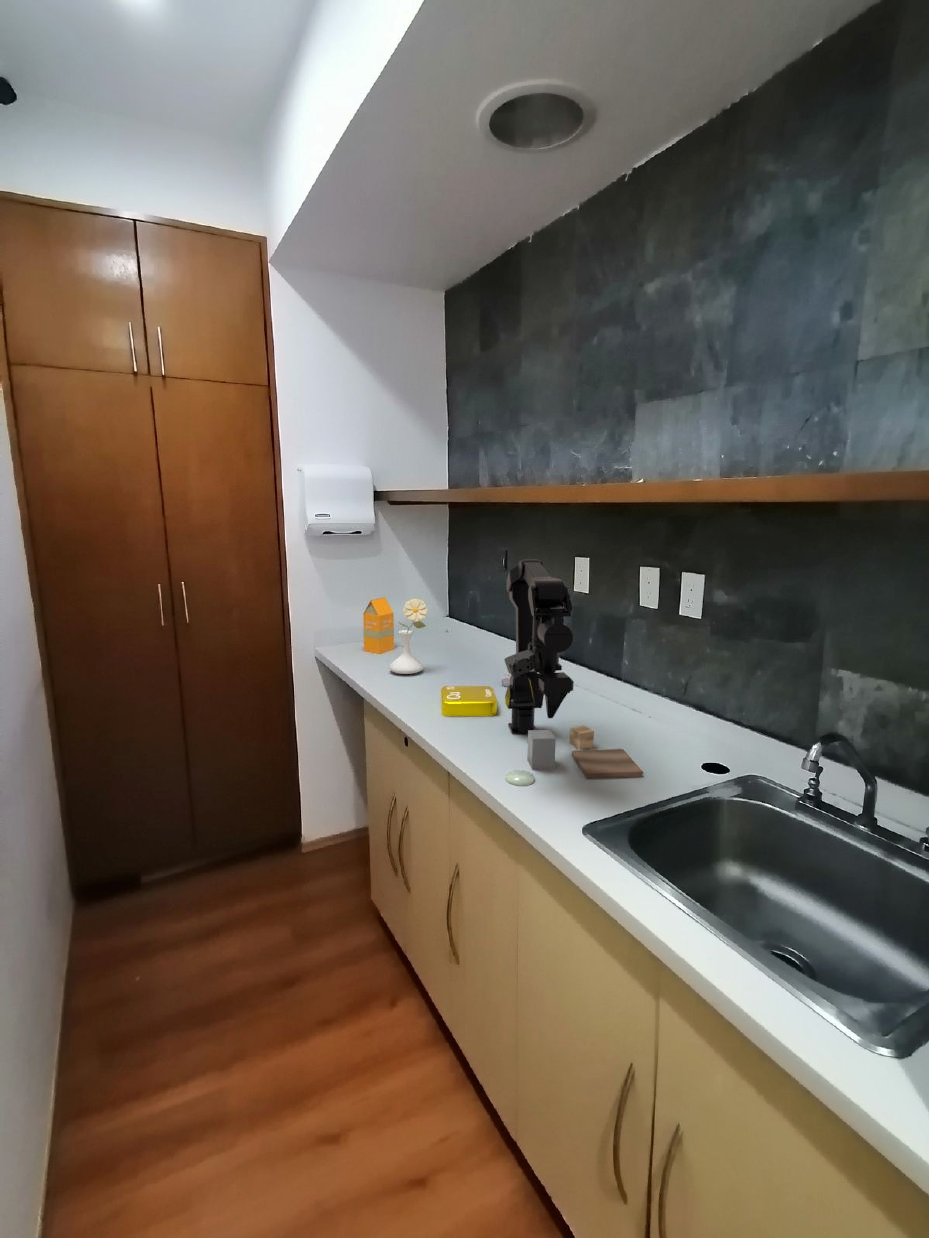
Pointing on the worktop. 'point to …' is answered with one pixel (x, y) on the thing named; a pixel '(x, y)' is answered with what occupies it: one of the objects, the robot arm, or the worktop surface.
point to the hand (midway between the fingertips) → (543, 710)
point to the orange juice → (378, 627)
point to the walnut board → (606, 764)
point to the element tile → (468, 701)
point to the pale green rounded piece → (519, 778)
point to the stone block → (506, 680)
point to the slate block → (541, 749)
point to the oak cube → (581, 737)
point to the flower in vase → (406, 661)
